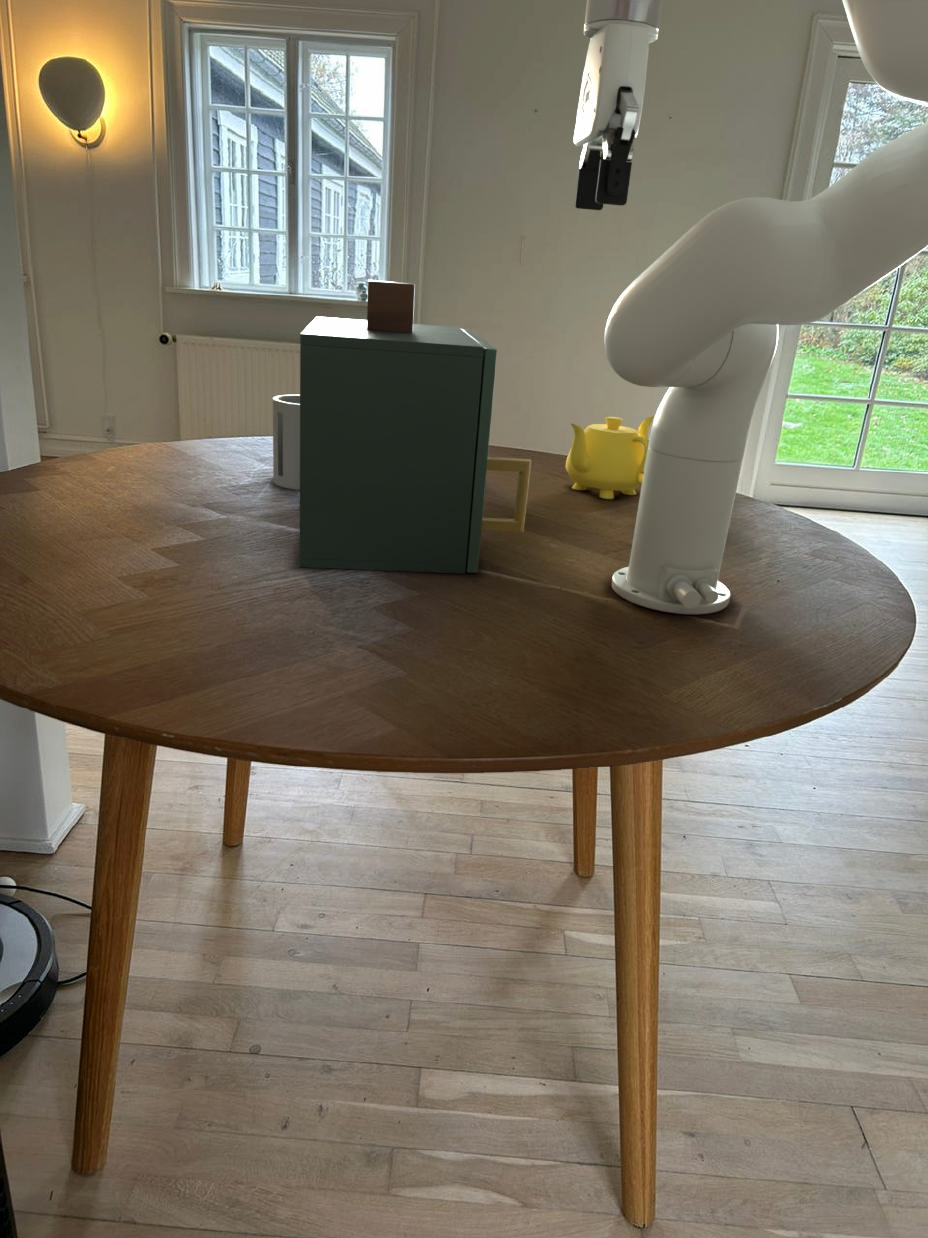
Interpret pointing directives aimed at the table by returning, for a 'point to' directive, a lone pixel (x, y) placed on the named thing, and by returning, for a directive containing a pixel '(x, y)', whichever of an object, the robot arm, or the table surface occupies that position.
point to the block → (390, 306)
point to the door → (491, 466)
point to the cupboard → (387, 446)
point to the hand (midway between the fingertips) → (598, 206)
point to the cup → (286, 441)
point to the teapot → (608, 457)
